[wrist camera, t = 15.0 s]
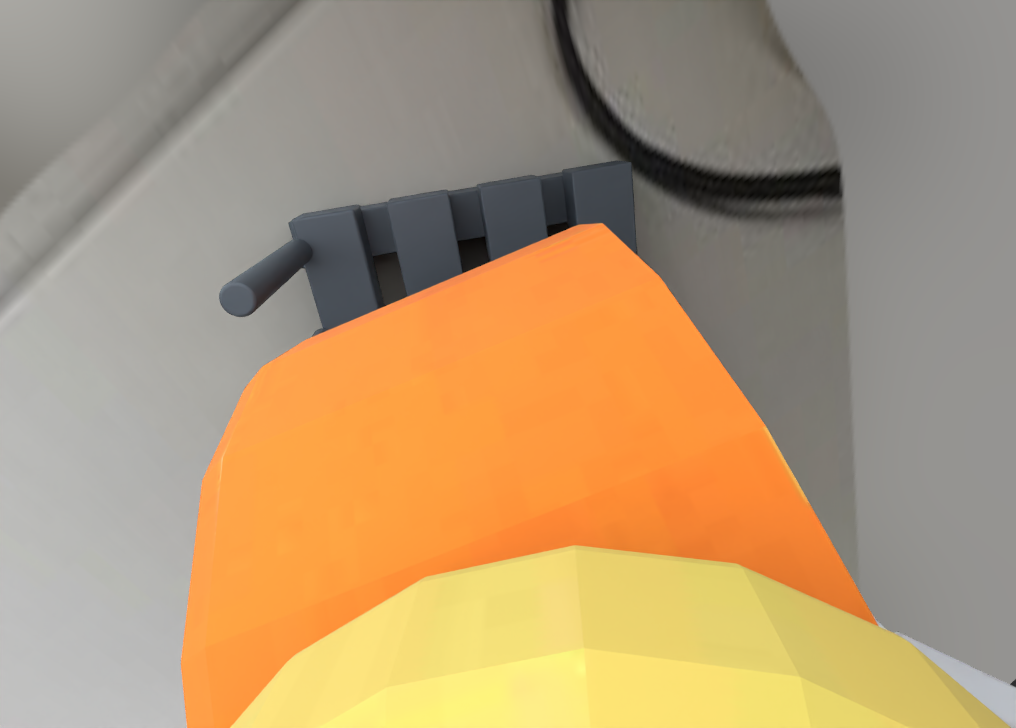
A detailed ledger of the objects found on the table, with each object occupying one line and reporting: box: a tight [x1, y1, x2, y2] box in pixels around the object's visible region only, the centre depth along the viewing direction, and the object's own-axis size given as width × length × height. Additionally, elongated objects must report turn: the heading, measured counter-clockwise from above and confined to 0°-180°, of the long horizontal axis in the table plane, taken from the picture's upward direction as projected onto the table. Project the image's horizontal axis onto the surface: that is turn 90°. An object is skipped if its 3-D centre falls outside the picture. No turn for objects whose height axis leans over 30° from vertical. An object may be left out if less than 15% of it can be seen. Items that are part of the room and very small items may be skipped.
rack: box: [219, 161, 637, 337], centre depth 19 cm, size 12×14×9 cm
